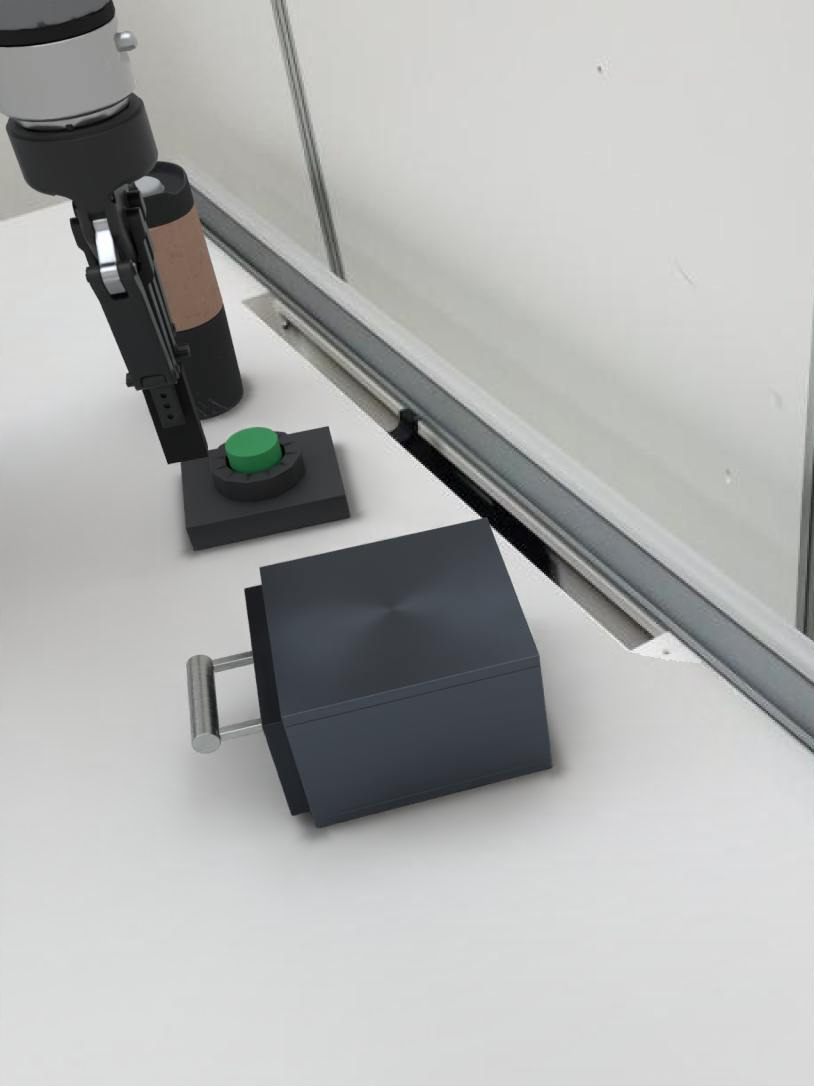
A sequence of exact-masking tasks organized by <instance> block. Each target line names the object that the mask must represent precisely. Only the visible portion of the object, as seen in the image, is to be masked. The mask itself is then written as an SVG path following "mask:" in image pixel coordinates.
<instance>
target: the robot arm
mask: <svg viewBox="0 0 814 1086" xmlns="http://www.w3.org/2000/svg"><path fill="white" fill-rule="evenodd" d="M118 29H119V18H118V16H117V14H116V7H115V4H114V1H113V0H0V114H2V115H3V116H5V117H7V118H8V119H7V122H6V125H5V131H6V133H7V136H8V139H9V142H10V144H11V147H12V150H13V153H14V155H15V158H16V161H17V163H18V167H19V169H20V172H21V174H22V177H23V179H24V181H25V183H26V184H27V186H28V187H30V188H31V189H33V190H34V191H36V192H38V193H39V194H43V195H47V196H50V197H51V196H52V197H55V196H58V197H63V198H66V199H69V200H70V201H71V207H72V211H73V214H74V216H73V217H70V218H69V225H70V230H71V233H72V236H73V239H74V241H75V245H76V246H77V248H78V249H80V250H81V251H82V252H83V254H84V257H85V258H86V259H85V260H86V261H87V265H88V266H86V267H85V274H84V276H85V280H86V282H87V283H89V286H90V288H91V290H92V292H93V293H94V295H95V297H96V298H97V300H98V302H99V304H100V307H101V309H102V311H103V314H104V317H105V319H106V321H107V324H108V326H109V328H110V331H111V333H112V335H113V338H114V341H115V343H116V346H117V347H118V350H119V353H120V355H121V358H122V360H123V362H124V366H125V367H126V371H128V372H126V373H125V385H126V387H127V388H133V387H134V389H135V391H137V392H138V391H142V395H143V397H144V400H145V404H146V407H147V408H148V412H149V414H150V418H151V421H152V423H153V427H154V429H155V432H156V435H157V439H158V441H159V444H160V446H161V449H162V452H163V455H164V459H165V460H166V463H167V465H174V464H179V463H181V462H184V461H189V460H194V459H200V458H205V457H208V450H209V444H208V441H207V438H206V435H205V431H204V428H203V425H202V422H201V419H199V415H198V412H197V409H196V406H195V403H194V400H193V397H192V393H191V390H190V387H189V384H188V381H187V378H186V374H185V371H184V368H183V365H182V362H179V363H176V361H175V359H178V358H184V357H189V356H190V349H189V345H188V343H183V344H178V345H176V343H175V340H174V337H175V336H176V326H175V323H173V321H172V318H171V314H170V310H169V307H168V303H167V300H166V296H165V293H164V289H163V285H162V282H161V278H160V275H159V271H158V268H157V264H156V260H155V257H154V246H153V243H152V240H151V236H150V233H149V230H148V227H147V224H146V206H145V203H144V200H143V197H142V194H141V191H140V190H139V189H138V187H136V185H135V183H134V182H135V181H137V180H139V179H141V178H142V177H144V176H145V175H146V174H148V173H149V172H150V171H151V170H152V169H153V168H154V166H155V164H156V162H157V161H158V158H159V151H158V147H157V144H156V140H155V136H154V133H153V130H152V127H151V123H150V120H149V116H148V112H147V110H146V106H145V102H144V101H143V99H142V98H141V97H140V96H138V95H137V94H136V93H134V90H135V88H136V86H137V80H136V76H135V72H134V69H133V66H132V63H131V58H130V56H129V53H128V52H131V51H133V50H136V49H137V47H138V40H137V36H135V35H134V33H133V32H132V31H130V30H124V31H120V32H119V31H118Z"/></svg>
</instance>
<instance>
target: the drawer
mask: <svg viewBox="0 0 814 1086" xmlns="http://www.w3.org/2000/svg"><path fill="white" fill-rule="evenodd" d="M243 591H244V592H243V593H244V600H245V608H246V616H247V624H248V631H249V638H250V646H251V647H250V648H251V650H249V651H243V652H239V653H237V654H231V655H227V656H223V657H220V658H215V659H212V658H211V657H210V656H208V655H206V654H195V655H193V656H191V657H189V659H187V661H186V663H185V667H186V682H187V697H188V698H187V699H188V710H189V723H190V739H191V748H192V749H193V750H194V751H195V752H196V753H199V754H203V755H206V754H211V753H214V752H216V751H217V750H218V749H219V748H220V746H221V743H222V742H224V741H229V740H233V739H236V738H237V739H238V738H240V737H245V736H249V735H254V734H257V733H262V732H263V735H264V738H265V741H266V744H267V746H268V750H269V753H270V757H271V759H272V762H273V765H274V768H275V771H276V774H277V777H278V780H279V783H280V785H281V788H282V789H281V790H282V791H283V794H284V797H285V800H286V803H287V806H288V810H289V813H290V816H292V817H294V816H299V815H302V814H307V813H311V810H310V807H309V804H308V801H307V798H306V795H305V791H304V788H303V785H302V782H301V779H300V776H299V772H298V769H297V766H296V763H295V760H294V757H293V754H292V750H291V747H290V744H289V741H288V738H287V735H286V731H285V728H284V725H283V722H282V719H281V713H280V706H279V700H278V693H277V686H276V679H275V672H274V665H273V659H272V652H271V645H270V638H269V631H268V624H267V618H266V611H265V604H264V597H263V590H262V584H257V585H253V586H249V587H248V586H247V587H244V589H243ZM250 665H253V668H254V676H255V677H254V678H255V684H256V693H257V700H258V709H259V716H260V717H259V718H255V719H250V720H245V721H243V722H238V723H233V724H229V725H226V726H221V727H220V719H219V710H218V709H219V708H218V699H217V688H216V678H215V677H216V676H215V673H216V674H217V673H219V672H224V671H225V672H226V671H228V670H229V671H230V670H233V669H238V668H241V667H246V666H250Z"/></svg>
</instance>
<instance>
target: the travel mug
mask: <svg viewBox="0 0 814 1086" xmlns="http://www.w3.org/2000/svg"><path fill="white" fill-rule="evenodd" d="M134 183H135V185H136V187H138V189H139V190H140V191H141V194H142V197H143V200H144V203H145V206H146V224H147V227H148V230H149V233H150V236H151V240H152V243H153V246H154V257H155V260H156V264H157V268H158V271H159V275H160V278H161V282H162V285H163V289H164V293H165V296H166V300H167V303H168V307H169V310H170V314H171V318H172V321H173V323H175V326H176V336H175V337H174V340H175V343H176V345H178V344H183V343H188V345H189V349H190V356H189V357H184V358H178V359H175V361H176V363H179V362H182V365H183V368H184V371H185V374H186V378H187V381H188V384H189V387H190V390H191V393H192V397H193V400H194V403H195V406H196V409H197V412H198V415H199V419H200V420H204V419H208V418H212V417H216V416H219V415H221V414H224V413H225V412H228V411H229V410H231V409H233V408H234V407H235V406H236V405H237V404H238V403H239V402H240V401H241V400H242V399H243V395H244V385H243V380H242V376H241V371H240V367H239V363H238V358H237V354H236V350H235V346H234V342H233V337H232V333H231V329H230V325H229V320H228V316H227V312H226V309H225V304H224V301H223V296H222V293H221V289H220V286H219V282H218V279H217V275H216V271H215V268H214V265H213V262H212V257H211V255H210V251H209V248H208V244H207V239H206V237H205V234H204V230H203V226H202V223H201V220H200V219H201V218H200V216H199V213H198V209H197V206H196V202H195V198H194V195H193V192H192V189H191V183H190V182H189V178H188V175H187V172H186V170H185V169H184V167H182V166H181V165H180V164H177V163H174V162H171V161H164V160H157V162H156V164H155V166H154V168H153V169H152V170H151V171H150V172H149V173H148V174H146V175H145V176H144V177H142V178H141V179H139V180H137V181H135V182H134Z"/></svg>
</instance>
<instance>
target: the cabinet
mask: <svg viewBox="0 0 814 1086" xmlns="http://www.w3.org/2000/svg"><path fill="white" fill-rule="evenodd" d="M258 570H259V576H260V582H261V583H260V584H261V585H262V590H263V597H264V604H265V611H266V618H267V624H268V631H269V638H270V645H271V652H272V659H273V665H274V672H275V679H276V686H277V693H278V700H279V706H280V713H281V719H282V722H283V725H284V728H285V731H286V735H287V738H288V741H289V744H290V747H291V750H292V754H293V757H294V760H295V763H296V766H297V769H298V772H299V776H300V779H301V782H302V785H303V788H304V791H305V795H306V798H307V801H308V804H309V807H310V810H311V811H310V813H311V816H312V819H313V823H314V826H315V828H318V829H319V828H322V827H326V826H330V825H333V824H337V823H341V822H345V821H349V820H353V819H358V818H361V817H364V816H368V815H372V814H377V813H380V812H384V811H388V810H392V809H395V808H399V807H404V806H407V805H410V804H414V803H418V802H422V801H426V800H431V799H434V798H438V797H441V796H446V795H449V794H453V793H457V792H458V793H459V792H461V791H465V790H469V789H473V788H476V787H482V786H484V785H485V786H486V785H489V784H493V783H496V782H500V781H504V780H508V779H512V778H515V777H519V776H524V775H527V774H528V775H529V774H532V773H536V772H538V771H543V770H546V769H550V768H553V759H552V750H551V743H550V742H551V741H550V733H549V724H548V715H547V706H546V700H545V692H544V683H543V674H542V673H543V672H542V665H541V656H540V653H539V651H538V647H537V645H536V641H535V639H534V637H533V634H532V631H531V629H530V627H529V623H528V621H527V618H526V616H525V613H524V611H523V608H522V605H521V603H520V600H519V598H518V595H517V592H516V590H515V587H514V585H513V582H512V579H511V576H510V573H509V571H508V569H507V566H506V563H505V561H504V558H503V555H502V553H501V550H500V547H499V545H498V542H497V539H496V537H495V534H494V532H493V529H492V526H491V524H490V521H489V519H488V517H482V518H476V519H472V520H468V521H463V522H458V523H453V524H449V525H446V526H441V527H436V528H431V529H427V530H423V531H418V532H414V533H409V534H405V535H399V536H396V537H391V538H386V539H382V540H377V541H372V542H369V543H363V544H360V545H359V544H358V545H355V546H354V545H353V546H349V547H345V548H341V549H336V550H331V551H326V552H323V553H318V554H314V555H308V556H305V557H300V558H296V559H290V560H286V561H281V562H277V563H273V564H272V563H271V564H267V565H264V566H260V567H259V568H258Z"/></svg>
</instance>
